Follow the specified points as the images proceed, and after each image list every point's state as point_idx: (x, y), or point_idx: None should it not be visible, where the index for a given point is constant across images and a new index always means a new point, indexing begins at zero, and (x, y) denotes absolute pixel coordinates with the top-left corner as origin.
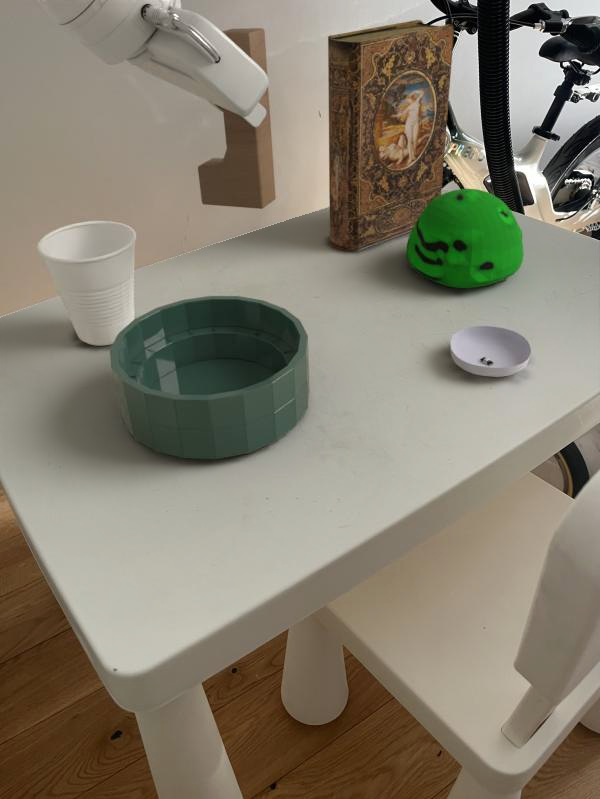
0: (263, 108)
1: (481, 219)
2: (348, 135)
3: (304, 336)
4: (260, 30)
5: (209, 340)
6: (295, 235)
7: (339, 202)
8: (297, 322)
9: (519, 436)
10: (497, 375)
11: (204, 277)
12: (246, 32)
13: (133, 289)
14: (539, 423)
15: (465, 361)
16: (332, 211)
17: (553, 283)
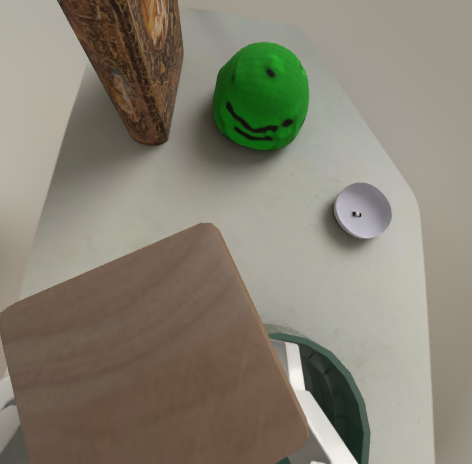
0: (299, 354)
1: (298, 90)
2: (125, 48)
3: (330, 355)
4: (238, 274)
5: None
6: (95, 148)
7: (138, 115)
8: (308, 342)
9: (421, 269)
10: (380, 229)
11: (86, 267)
12: (289, 446)
13: None
14: (419, 249)
15: (348, 224)
16: (130, 122)
17: (318, 95)
